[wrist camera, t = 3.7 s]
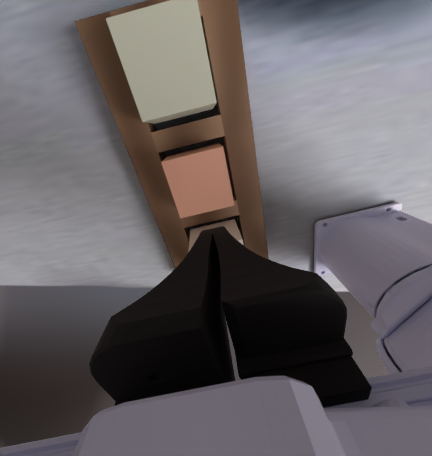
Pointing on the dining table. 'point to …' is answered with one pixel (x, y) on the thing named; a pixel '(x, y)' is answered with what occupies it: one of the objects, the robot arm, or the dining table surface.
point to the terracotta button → (199, 180)
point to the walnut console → (187, 125)
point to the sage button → (165, 59)
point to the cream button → (229, 225)
